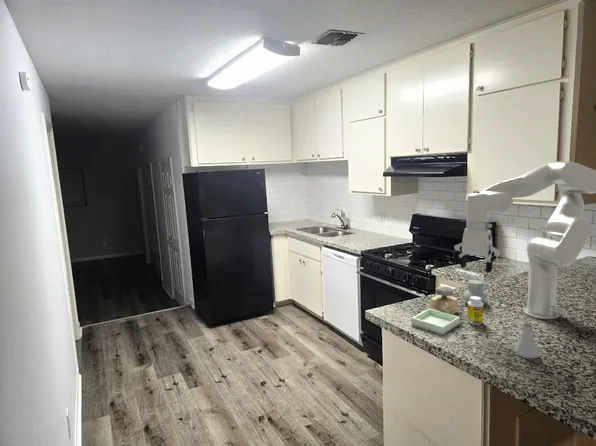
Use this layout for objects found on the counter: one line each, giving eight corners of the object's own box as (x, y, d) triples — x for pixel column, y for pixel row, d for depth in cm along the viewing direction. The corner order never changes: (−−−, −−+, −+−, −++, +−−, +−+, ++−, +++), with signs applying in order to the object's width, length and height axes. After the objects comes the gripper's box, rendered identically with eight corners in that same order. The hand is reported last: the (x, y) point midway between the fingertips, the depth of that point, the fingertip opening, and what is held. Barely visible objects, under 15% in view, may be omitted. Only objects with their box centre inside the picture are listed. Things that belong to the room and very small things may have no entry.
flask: (509, 349, 131) (510, 321, 129) (529, 348, 131) (531, 319, 130) (523, 360, 123) (524, 330, 122) (545, 358, 124) (546, 328, 122)
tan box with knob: (457, 311, 164) (458, 289, 163) (448, 317, 159) (448, 293, 158) (440, 307, 170) (440, 285, 169) (430, 312, 165) (430, 289, 163)
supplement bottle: (473, 326, 150) (474, 301, 148) (464, 320, 155) (464, 296, 153) (485, 324, 151) (486, 299, 149) (476, 318, 156) (476, 294, 155)
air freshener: (466, 298, 179) (467, 277, 178) (486, 300, 175) (487, 279, 173) (463, 306, 170) (463, 284, 168) (484, 309, 166) (484, 286, 164)
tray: (459, 324, 152) (460, 316, 151) (442, 335, 143) (442, 327, 143) (429, 315, 162) (429, 308, 161) (411, 324, 153) (411, 317, 153)
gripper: (505, 226, 143) (503, 271, 145) (459, 222, 156) (458, 263, 158) (496, 229, 138) (494, 275, 141) (450, 224, 151) (449, 267, 154)
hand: (475, 269), depth 149 cm, fingers open, 9 cm apart
